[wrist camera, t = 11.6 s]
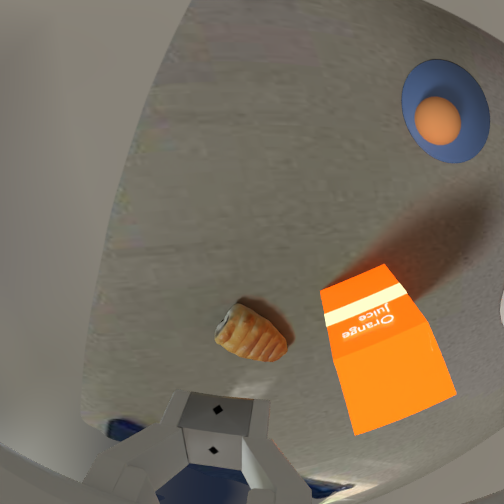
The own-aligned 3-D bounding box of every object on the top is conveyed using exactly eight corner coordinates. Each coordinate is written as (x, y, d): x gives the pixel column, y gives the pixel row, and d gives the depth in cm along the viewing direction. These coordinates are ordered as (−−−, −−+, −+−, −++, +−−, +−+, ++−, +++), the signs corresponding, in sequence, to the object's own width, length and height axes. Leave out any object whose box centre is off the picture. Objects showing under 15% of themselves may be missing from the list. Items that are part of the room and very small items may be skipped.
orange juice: (399, 313, 39) (458, 420, 20) (338, 338, 41) (363, 459, 22) (384, 262, 37) (454, 358, 18) (318, 289, 39) (339, 406, 20)
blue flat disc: (487, 74, 28) (488, 74, 28) (486, 170, 32) (487, 170, 32) (400, 49, 29) (401, 49, 29) (399, 154, 33) (400, 154, 33)
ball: (476, 117, 26) (444, 84, 25) (458, 157, 28) (424, 126, 26) (448, 116, 31) (417, 88, 30) (430, 152, 33) (398, 125, 32)
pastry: (298, 330, 41) (298, 347, 38) (271, 364, 44) (269, 382, 40) (235, 296, 41) (229, 310, 37) (212, 333, 43) (205, 349, 39)
